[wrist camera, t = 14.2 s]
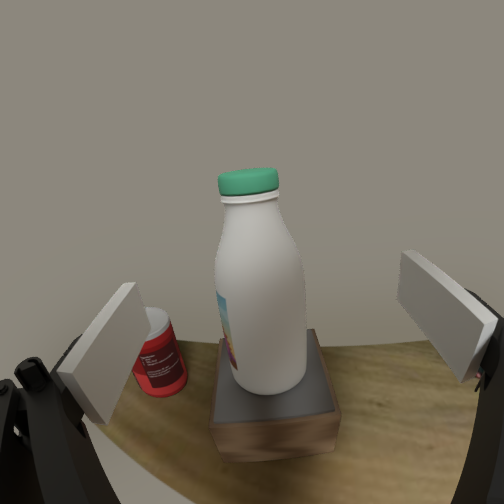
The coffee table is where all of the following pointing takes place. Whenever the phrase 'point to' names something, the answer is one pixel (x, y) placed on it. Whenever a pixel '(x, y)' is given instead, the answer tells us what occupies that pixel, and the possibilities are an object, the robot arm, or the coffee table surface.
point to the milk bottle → (260, 285)
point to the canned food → (160, 358)
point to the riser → (274, 413)
